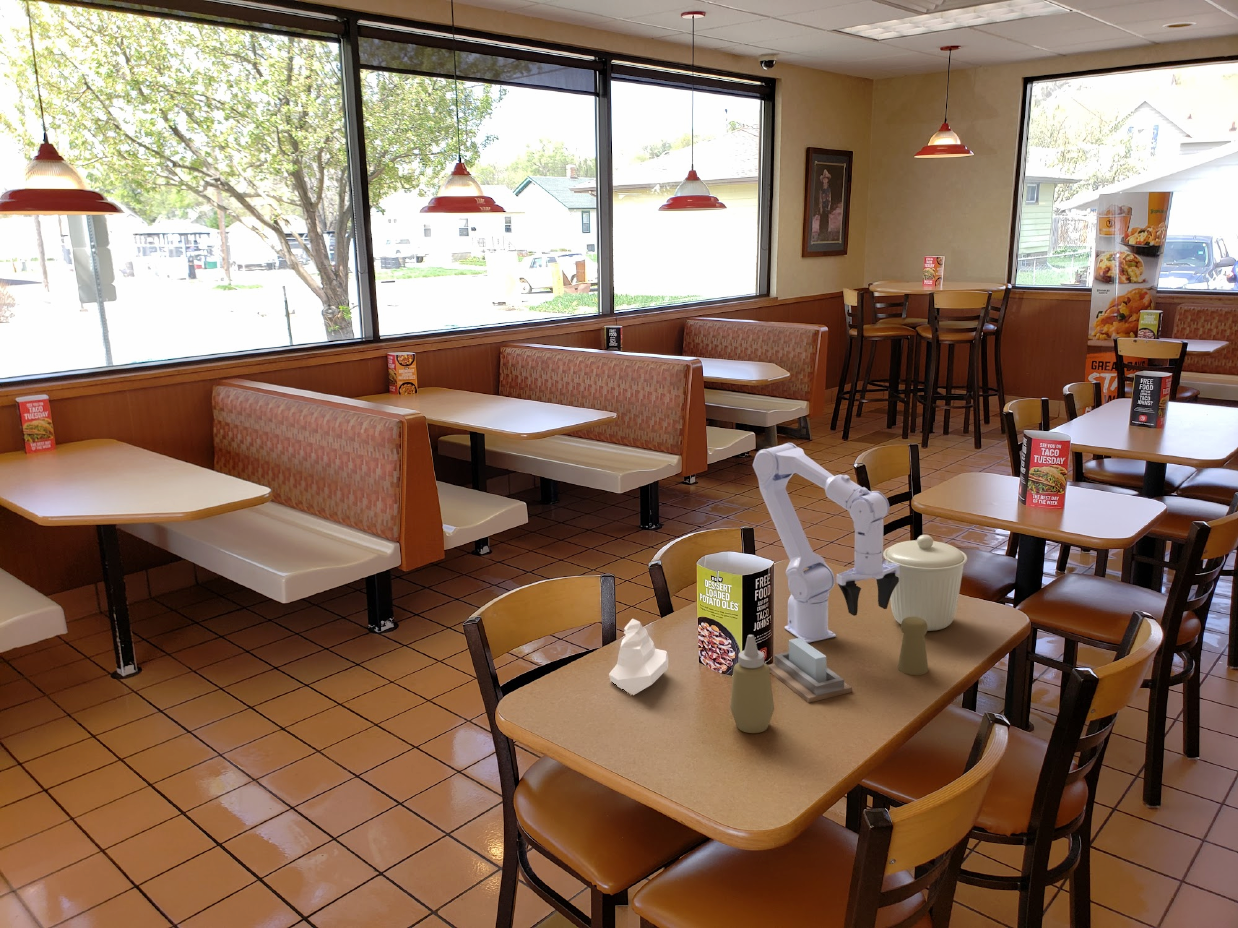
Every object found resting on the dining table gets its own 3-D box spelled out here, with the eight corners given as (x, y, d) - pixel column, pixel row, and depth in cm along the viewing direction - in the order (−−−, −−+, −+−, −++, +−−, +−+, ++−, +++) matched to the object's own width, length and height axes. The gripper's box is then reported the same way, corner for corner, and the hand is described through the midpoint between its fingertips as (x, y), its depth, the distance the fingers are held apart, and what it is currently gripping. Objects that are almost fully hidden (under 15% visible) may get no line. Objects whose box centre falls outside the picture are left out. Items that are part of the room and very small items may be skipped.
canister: (868, 626, 210) (869, 539, 205) (901, 601, 223) (903, 519, 219) (946, 645, 199) (949, 553, 194) (976, 618, 212) (980, 531, 207)
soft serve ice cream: (600, 701, 185) (583, 634, 184) (631, 675, 198) (615, 612, 198) (655, 696, 179) (637, 626, 179) (683, 670, 192) (667, 605, 192)
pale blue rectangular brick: (826, 684, 182) (826, 656, 180) (815, 686, 181) (815, 658, 180) (799, 664, 191) (799, 637, 190) (788, 666, 190) (788, 639, 189)
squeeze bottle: (763, 741, 164) (762, 648, 160) (723, 730, 168) (720, 640, 164) (781, 721, 171) (780, 631, 167) (741, 711, 175) (739, 624, 171)
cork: (895, 672, 188) (896, 622, 185) (900, 660, 193) (902, 611, 190) (925, 677, 185) (927, 626, 182) (930, 664, 190) (932, 615, 187)
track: (766, 669, 192) (766, 656, 191) (807, 660, 195) (807, 646, 194) (808, 702, 177) (808, 688, 176) (852, 691, 180) (852, 677, 180)
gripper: (850, 561, 185) (849, 623, 188) (909, 549, 190) (908, 610, 193) (830, 551, 192) (830, 611, 195) (888, 540, 196) (887, 599, 199)
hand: (867, 610), depth 194 cm, fingers open, 7 cm apart
